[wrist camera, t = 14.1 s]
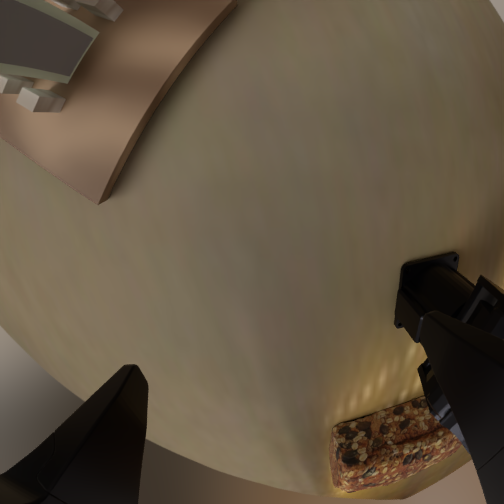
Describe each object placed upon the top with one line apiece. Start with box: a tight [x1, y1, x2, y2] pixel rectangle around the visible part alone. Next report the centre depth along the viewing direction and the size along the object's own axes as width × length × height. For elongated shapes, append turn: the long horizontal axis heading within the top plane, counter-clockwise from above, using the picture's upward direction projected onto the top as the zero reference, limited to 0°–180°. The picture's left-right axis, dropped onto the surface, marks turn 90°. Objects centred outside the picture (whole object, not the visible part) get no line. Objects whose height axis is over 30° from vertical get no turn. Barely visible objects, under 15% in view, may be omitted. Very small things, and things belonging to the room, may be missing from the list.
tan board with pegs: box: [0, 0, 237, 205], centre depth 10 cm, size 16×18×4 cm
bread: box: [329, 396, 462, 493], centre depth 26 cm, size 19×11×10 cm, turn 98°
